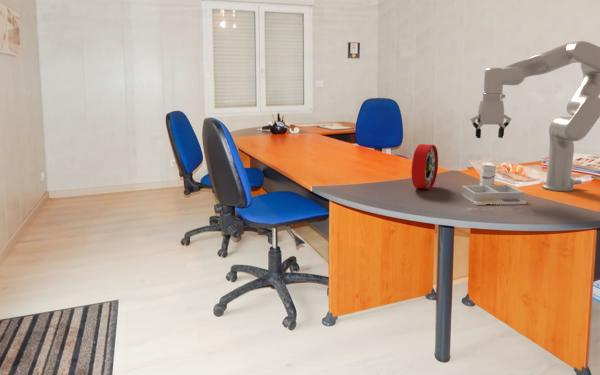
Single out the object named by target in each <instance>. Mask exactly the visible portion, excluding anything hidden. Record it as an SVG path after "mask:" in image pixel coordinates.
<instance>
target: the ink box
mask: <svg viewBox="0 0 600 375" xmlns="http://www.w3.org/2000/svg"><path fill="white" fill-rule="evenodd" d="M480 166H481V167H480V177H479V185H495V178H496V177H495V176H496V165H495V164H494V163H493V162H485V161H484V162H483V161H482V162H481V165H480Z"/></svg>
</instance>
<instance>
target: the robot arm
mask: <svg viewBox="0 0 600 375" xmlns="http://www.w3.org/2000/svg"><path fill="white" fill-rule="evenodd" d="M576 63H577V64H579V63H580V68H581V70H582V71H581V72H582V75H583V76H582V82H581V83H580V86H579V87H578V88H577V90H576V91H575V93H574V94H573V95H572V97H571V98H570V100H569V101H568V103H567V104H566V112H567V113H568V114H569V115H570V116H572V117H570V116H559V117H555V118H554V119H553V120H552V121H551V122H550V124H549V128H548V135H549V148H548V151H549V152H548V159H547V169H546V181H545V183H542V184H541V188H543V189H545V190H548V191H555V192H572V191H574V189H575V185H582V180H581V179H574V178H572V171H573V162H574V161H573V160H574V154H575V144H574V142H579V141H581V140H582V139H584V138H586V136H587V135H588V134H589V132H590V131H591V130H592V128H593V127H594V126H595V124H596V123H597V121H598V120H599V119H600V97H599V96H600V46H598V45H596V44H593V43H591V42H589V41H584V40H580V41H573V42H572V41H571V42H568V43H565V44H563V45H559V46H556V47H555V48H553V49H549V50H547V51H545V52H541V53H539V54H537V55H534V56H531V57H528V58H525V59H523V60H520V61H517V62H514V63H512V64H509V65H507V66H505V67H489V68H486V69H485V71H484V78H483V79H484V80H483V81H484V82H483V92H482V93H483V94H482V100H480V102H479V106H478V112H477V115H474V116H473V117H471V118H470V122H471V125H473V127H474V128H475V138H476V139H477V138H478V139H481V138H482V136H481V134H482V129H481V127H482V126H484V125H498V126H499V128H498V132H497V135H498V138H499V139H503V137H504V135H505V129H506V127H508V126H509V124H510V122H511V121H512V117H509V116H508V115H506V114H505V106H504V100H503V99H505V97H506V94H503V88H504V86H518V85H520V84H521V83H523V82H524V81H525V78H528V77H532V76H539V75H540V76H541V75H544V74H548V73H551V72H554V71H556V70H558V69H561V68H563V67H565V66H568V65H571V64H576ZM504 120H505V122H504ZM476 121H477V122H476Z"/></svg>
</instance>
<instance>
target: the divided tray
mask: <svg viewBox="0 0 600 375" xmlns="http://www.w3.org/2000/svg"><path fill="white" fill-rule="evenodd" d="M524 194H525V192H524V191H522V190H520V189H518V188H516V187H513V186H512V185H510V184H494V185H480V184H478V185H477V184H475V185H461V196H462V197H463V198H465V199H467V200H468V201H469V200H470V201H469V202H471V203H472V202H473V203H472V204H474V205H475V204H476V206H487V205H486V204H491V206H493V205H492V204H494V206H495V204H496V205H497V204H498V205H499V204H500V205H527V200H525V199H524ZM498 205H497V206H498Z"/></svg>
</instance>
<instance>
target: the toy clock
mask: <svg viewBox="0 0 600 375" xmlns="http://www.w3.org/2000/svg"><path fill="white" fill-rule="evenodd" d="M438 169H439V154H438V149H437V147H436V145H435V144H428V143H427V144H425V143H419V144H418V145H417V146H416V147H415V150H414V153H413V156H412V162H411V170H410V172H411V182H412V185H413V187H414V188H415V189H419V190H420V189H422V190H431V189H433V187H434V185H435V183H436V179H437V176H438Z"/></svg>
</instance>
